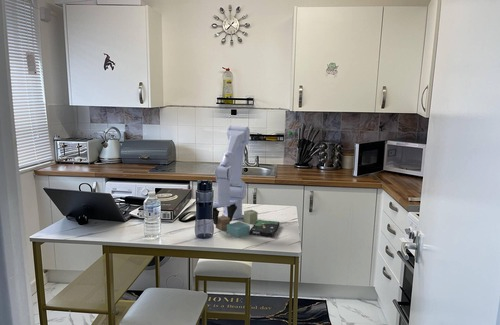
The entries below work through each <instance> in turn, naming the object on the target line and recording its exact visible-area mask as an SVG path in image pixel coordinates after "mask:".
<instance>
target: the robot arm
mask: <svg viewBox="0 0 500 325" xmlns="http://www.w3.org/2000/svg"><path fill="white" fill-rule="evenodd" d="M250 134H251V130H250V128H249V126H239V125H238V126H237V125H235V126H233V125H228V127H227V132H226V135H227V140H228V142H227V148H226V151H225V152H223V154H222V157H221V158H220V162H219V165H218V166H216V167H215V170H214V171H215V172H214V177H215V182H216V201H215V202H213V218H212V222H213V225H215V226H216V225H217V224H218V217H219V216H220V210H218V209H219V208H220V209H221V208H223V210H222V212H223V213H221V216H226V217H228V218H230V223H231V222H232V221H235V220H238V219H244V214H243V200H244V199H245V198H246V196H247V184H246V182H245V181H244V180H243V179H242V175H243V165H244V157H245V148H246V146H249V142H250V136H251V135H250Z"/></svg>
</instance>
